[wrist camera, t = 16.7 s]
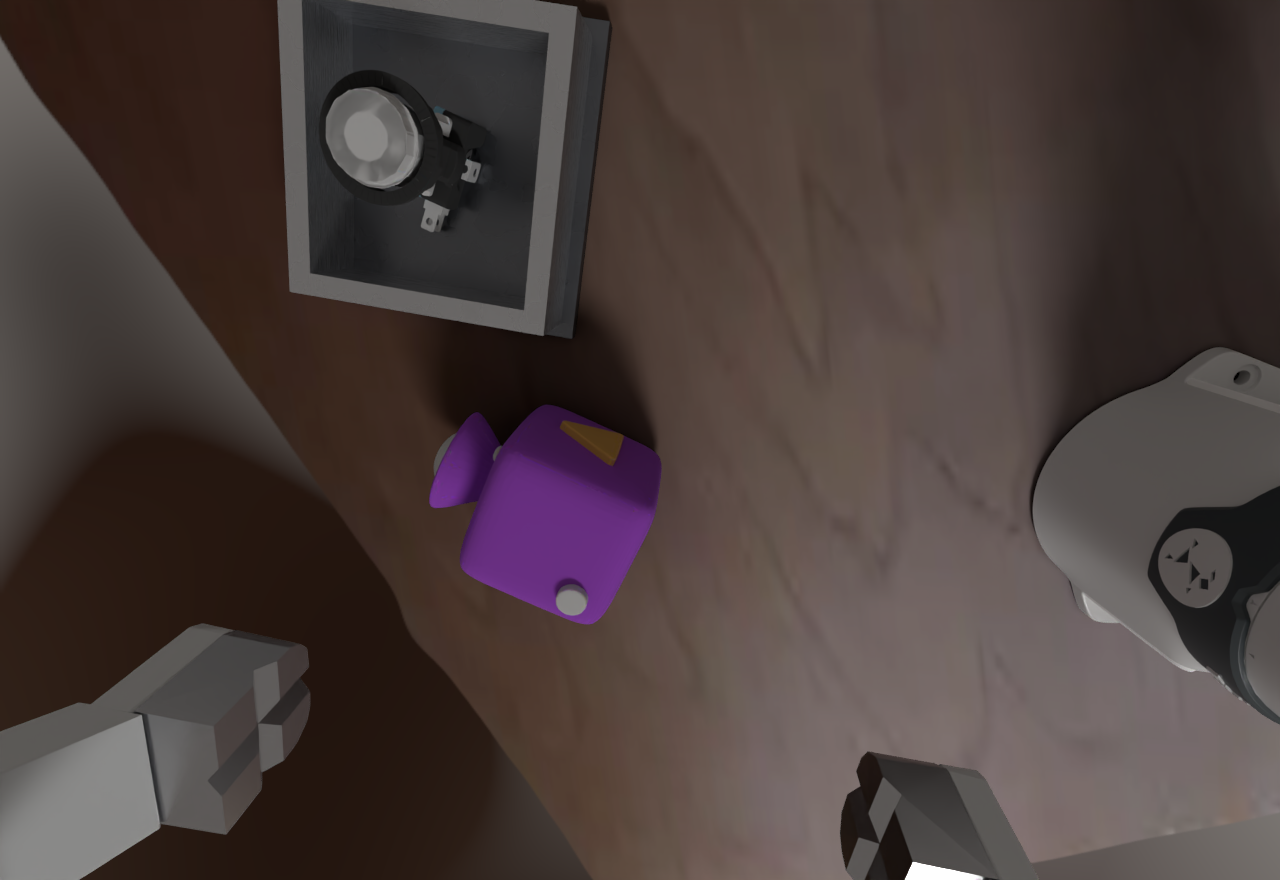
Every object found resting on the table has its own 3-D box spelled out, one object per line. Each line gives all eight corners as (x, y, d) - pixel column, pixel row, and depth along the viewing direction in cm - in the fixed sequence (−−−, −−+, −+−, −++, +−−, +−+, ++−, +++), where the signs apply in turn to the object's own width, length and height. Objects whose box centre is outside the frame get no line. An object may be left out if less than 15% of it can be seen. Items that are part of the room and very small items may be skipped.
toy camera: (473, 373, 40) (405, 417, 30) (673, 423, 40) (666, 483, 30) (454, 514, 43) (387, 592, 34) (636, 560, 43) (620, 651, 34)
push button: (477, 248, 36) (400, 254, 27) (394, 210, 36) (286, 203, 26) (513, 134, 34) (443, 98, 24) (425, 93, 33) (320, 40, 24)
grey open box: (612, 27, 32) (596, -11, 27) (574, 336, 38) (556, 352, 33) (326, -18, 33) (258, -65, 28) (332, 293, 39) (276, 303, 34)
